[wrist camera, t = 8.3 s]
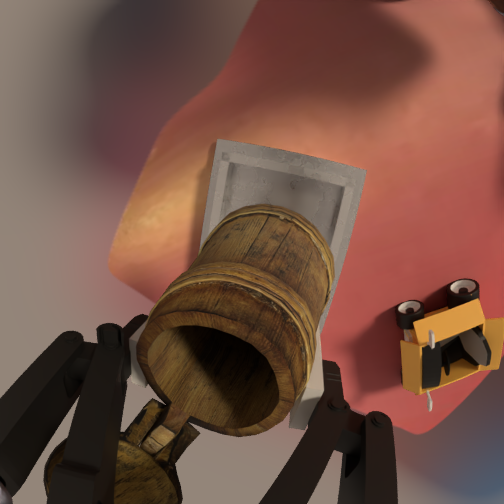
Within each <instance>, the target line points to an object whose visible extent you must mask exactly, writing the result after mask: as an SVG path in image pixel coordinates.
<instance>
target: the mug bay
mask: <svg viewBox="0 0 504 504" xmlns="http://www.w3.org/2000/svg"><path fill="white" fill-rule="evenodd" d="M366 172H367V170H364V169H360V168H357V167H353V166H349V165H345V164H341V163H338V162H334V161H330V160H325V159H321V158H317V157H313V156H308V155H304V154H299V153H295V152H290V151H285V150H280V149H275V148H270V147H265V146H259V145H254V144H248V143H242V142H236V141H229V140H223V139H217V144H216V150H215V155H214V161H213V166H212V172H211V178H210V184H209V190H208V196H207V202H206V208H205V215H204V221H203V228H202V235H201V242H200V248H201V246H202V244H203V243H204V241H205V240H206V238H207V237H208V235H209V234H210V233H211V231H212V230H213V229H214V228H215V227H216V226H217V225H218V224H219V223H220V222H221V221H222V220H223V219H224V218H225V217H226V216H227V215H228V214H229V213H231V212H233V211H235V210H237V209H240V208H242V207H244V206H250V205H257V204H270V205H277V206H283V207H285V208H287V209H290V210H292V211H294V212H297V213H299V214H301V215H302V216H303V217H305V218H306V219H307V220H308V221H310V222H311V223H312V224H314V225H315V226H316V228H317V229H318V230H319V232H320V233H321V234H322V236H323V237H324V238H325V240H326V242H327V244H328V246H329V248H330V250H331V252H332V254H333V256H334V269H335V278H334V280H333V283H332V286H331V292H330V299H329V301H328V304H327V306H326V308H325V310H324V312H323V314H322V316H321V318H320V321H319V329H320V334H321V332H322V329H323V326H324V323H325V320H326V317H327V314H328V311H329V308H330V305H331V302H332V299H333V296H334V293H335V289H336V286H337V283H338V280H339V276H340V273H341V270H342V266H343V263H344V259H345V256H346V252H347V249H348V245H349V242H350V238H351V234H352V230H353V227H354V223H355V219H356V215H357V211H358V207H359V202H360V198H361V194H362V190H363V185H364V181H365V176H366ZM199 251H200V249H199Z"/></svg>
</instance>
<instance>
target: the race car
mask: <svg viewBox="0 0 504 504" xmlns="http://www.w3.org/2000/svg"><path fill="white" fill-rule="evenodd" d="M395 312H396V321H397V325H398V327H400V328H401V329H404V338H405V341H404V340H400V344H401V357H402V370H401V383H402V385H403V388H404V389H406V390H409V391H411V392H414V393H416V394H415V395H420V394H423V393H427V396H428V400H427V408H428V410H429V411H431V410H432V400H431V397H430V394H429V391H432V390H434V389H437V388H440V387H442V386H445V385H447V384H450V383H452V382H455V381H457V380H460V379H462V378H465V377H467V376H469V375H471V374H474V373H476V372H478V371H482V370H493V369H498V368H499V363H500V358H501V353H502V346H503V339H504V318H492V319H485V318H484V314H483V311H482V308H481V305H480V302H479V284H478V282H477V281H475V280H472V279H459V280H456V281H453V282H451V283H450V284H449V285H448V287H447V307H444V308H441V309H439V310H436V311H433V312H430V313H427V314H424V305H423V303H422V302H420V301H418V300H409V301H406V302H402V303H400V304H399V305H398V306H397V307H396V309H395Z"/></svg>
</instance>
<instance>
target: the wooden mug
mask: <svg viewBox="0 0 504 504" xmlns="http://www.w3.org/2000/svg"><path fill="white" fill-rule="evenodd" d="M334 278H335V269H334V256H333V254H332V252H331V250H330V248H329V246H328V244H327V242H326V240H325V238H324V237H323V236H322V234H321V233H320V232H319V230H318V229H317V228H316V226H315V225H314V224H312V223H311V222H310V221H308V220H307V219H306V218H305V217H303V216H302V215H301V214H299V213H297V212H294V211H292V210H290V209H287V208H285V207H283V206H277V205H270V204H257V205H250V206H244V207H242V208H240V209H237V210H235V211H233V212H231V213H229V214H228V215H227V216H226V217H225V218H224V219H223V220H222V221H221V222H220V223H219V224H218V225H217V226H216V227H215V228H214V229H213V230H212V231H211V233H210V234H209V235H208V237H207V238H206V240H205V241H204V243H203V244H202V246H201V248H200V251H199V253H198V256H197V258H196V260H195V261H194V262H193V264H192V265H191V267H190V268H189V269H188V271H186V272H184V273H182V274H181V275H180V276H179V277H178V278H177V279H176V280H174V281H173V282H172V283H171V284H170V285H169V287H168V288H167V289H166V291H165V292H164V293H163V295H162V296H161V298H160V299H159V300H158V302H157V303H156V304H155V306H154V307H153V308H152V310H151V311H150V314H149V317H148V319H147V322H146V325H145V329H144V330H143V332H142V333H141V335H140V337H139V339H138V342H137V344H136V356H137V362H138V364H139V366H140V368H141V370H142V372H143V374H144V376H145V378H146V380H147V382H148V384H149V385H150V387H151V388H152V389H153V391H154V392H155V393H156V394H157V396H158V397H159V398H160V399H161V400H162V401H163V402H164V403H165V404H166V405H165V404H163V403H161V402H159V401H157V400H155V399H153V398H152V399H151V400H150V401H149V402H148V403H147V404H146V405H145V406H144V407H143V409H142V410H141V412H140V413H139V414H138V416H137V417H136V418H135V419H134V420H133V422H132V423H131V424H130V425H129V427H128V428H127V429H126V430H125V432H120V437H119V445H118V454H117V464H116V475H115V488H114V504H181V503H182V499H183V498H182V491H181V486H180V482H179V479H178V475H177V471H176V466H175V463H176V462H177V460H178V459H179V458H180V456H181V455H182V454H183V452H184V451H185V450H186V448H187V447H188V446H189V445H190V444H191V443H192V442H193V441H194V439H196V437H197V436H198V435H199V434H200V432H199V431H197V430H196V429H195V428H194V427H193V426H192V425H191V424H190V423H193V424H195V425H197V426H200V427H202V428H205V429H208V430H211V431H214V432H217V433H220V434H224V435H230V436H236V437H243V436H251V435H257V434H259V433H262V432H265V431H267V430H269V429H271V428H272V427H274V426H275V425H277V424H278V423H280V422H281V421H283V420H284V418H285V417H286V416H287V414H288V413H289V412H290V410H291V409H292V407H293V406H294V404H295V401H296V400H297V398H298V397H299V395H300V394H301V392H302V391H303V389H304V388H305V386H306V384H307V383H308V381H309V378H310V374H311V370H312V367H313V363H314V360H315V353H316V346H317V341H316V332H317V328H318V325H319V321H320V318H321V316H322V314H323V312H324V310H325V308H326V306H327V304H328V301H329V299H330V292H331V286H332V283H333V280H334ZM189 422H190V423H189ZM67 438H68V437H67ZM67 438H66V439H65V440H63V441H62V442H61V443H60V444H59V445H58V446H57V447H55V449H54V450H53V452H52V453H51V454H50V456H49V458H48V460H47V462H46V464H45V468H44V469H45V470H44V486H45V490H46V495H47V498H48V493H49V488H50V483H51V478H52V473H53V470H54V467H55V465H56V464H58V463H61V462H62V459H63V455H64V450H65V446H66V442H67ZM140 443H141V444H140ZM139 445H140V447H139Z"/></svg>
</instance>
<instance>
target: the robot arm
mask: <svg viewBox="0 0 504 504" xmlns="http://www.w3.org/2000/svg"><path fill="white" fill-rule="evenodd" d="M488 1H489V2H490V3H491V4H492V5H493V7H494V9H495V10H496V11H497V12H498V13H500V14H501V15H503V16H504V0H488ZM148 317H149V316H147V315H144V314H140V315H138V316H136V317H134V318H133V319H132V320H131V321H130V322H129V323H128V324H127V325H126V326H125V327H124V328H122V327H121V326H119V325H117V324H114V323H106V324H102V325H100V326H98V328H97V329H96V330H97V340H98V343H91V342H85V341H84V339H83V336H82V334H81V333H79V332H76V331H66V332H63V333H62V334H61V335H60V336H58V337H57V338H56V339H55V341H54V342H53V343H52V344H51V345H50V346H49V347H48V348H47V349H46V350H45V351H44V352H43V353H42V354H41V355H40V356H39V357H38V358H37V359H36V360H35V361H34V362H33V363H32V364H31V365H30V366H29V367H28V369H27V370H26V371H25V372H24V373H23V374H22V375H21V376H20V377H19V378H18V379H17V380H16V381H15V383H14V384H13V385H12V386H11V387H10V388H9V389H8V391H7V392H6V393H5V394H4V395H3V396H2V397H1V398H0V504H13V503H12V497H13V496H14V495H15V494H16V493H17V491H18V490H19V489H20V488H21V486H22V485H23V484H24V482H25V481H26V479H27V477H28V476H29V474H30V472H31V470H32V469H33V467H34V465H35V464H36V462H37V460H38V459H39V457H40V456H41V454H42V452H43V451H44V449H45V447H46V446H47V444H48V442H49V441H50V439H51V438H52V436H53V435H54V433H55V431H56V430H57V429H58V427H59V425H60V424H61V422H62V421H63V419H64V417H65V416H66V415H67V413H68V412H69V410H70V409H71V407H72V406H73V404H74V403H75V401H76V400H77V398H78V397H79V400H78V403H77V406H76V410H75V413H74V416H73V420H72V423H71V427H70V431H69V435H68V438H67V442H66V446H65V450H64V455H63V459H62V462H61V463H58V464H56V465H55V467H54V470H53V473H52V478H51V483H50V488H49V493H48V498H47V504H114V488H115V475H116V464H117V454H118V445H119V437H120V430H121V422H122V415H123V409H124V402H125V396H126V390H127V379H128V378H129V376H130V375H131V380H132V383H134V384H137V385H139V386H142V387H145V388H146V386H147V385H148V382H147V380H146V378H145V376H144V374H143V372H142V370H141V368H140V366H139V364H138V362H137V356H136V344H137V342H138V339H139V337H140V335H141V333H142V332H143V330H144V329H145V325H146V322H147V319H148ZM316 341H317V346H316V353H315V360H314V363H313V367H312V370H311V374H310V378H309V381H308V383H307V384H306V386H305V388H304V389H303V391H302V392H301V394H300V395H299V397H298V398H297V400H296V401H295V404H294V406H293V407H292V409H291V410H290V421H289V428H295V429H301V430H305V428H306V426H307V424H308V429H307V430H306V432H305V434H304V435H303V437H302V439H301V441H300V442H299V444H298V446H297V447H296V449H295V450H294V452H293V454H292V455H291V457H290V459H289V460H288V462H287V463H286V465H285V466H284V468H283V469H282V471H281V472H280V474H279V475H278V477H277V478H276V480H275V481H274V483H273V484H272V486H271V487H270V489H269V490H268V491H267V493H266V494H265V496H264V497H263V498H262V500H261V501H260V503H259V504H307V503H308V501H309V499H310V497H311V495H312V493H313V492H314V490H315V488H316V486H317V483H318V482H319V480H320V478H321V476H322V474H323V472H324V470H325V468H326V466H327V463H328V461H329V459H330V457H331V455H332V453H333V451H334V450H336V451H339V452H342V453H343V456H342V468H341V478H340V488H339V495H338V503H337V504H398V498H397V497H398V494H397V473H396V458H395V446H394V436H393V427H392V422H391V419H390V418H389V417H388V416H387V415H386V414H384V413H382V412H379V411H372V412H369V413H368V414H367V415H366V416H364V415H361V414H358V413H356V412H354V411H352V410H351V409H350V406H349V404H348V403H347V402H346V401H345V400H344V396H343V388H342V382H341V374H340V368H339V367H338V365H337V364H336V362H333V361H327V360H322V354H321V341H320V329H319V325H318V328H317V332H316ZM79 395H80V396H79Z"/></svg>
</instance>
